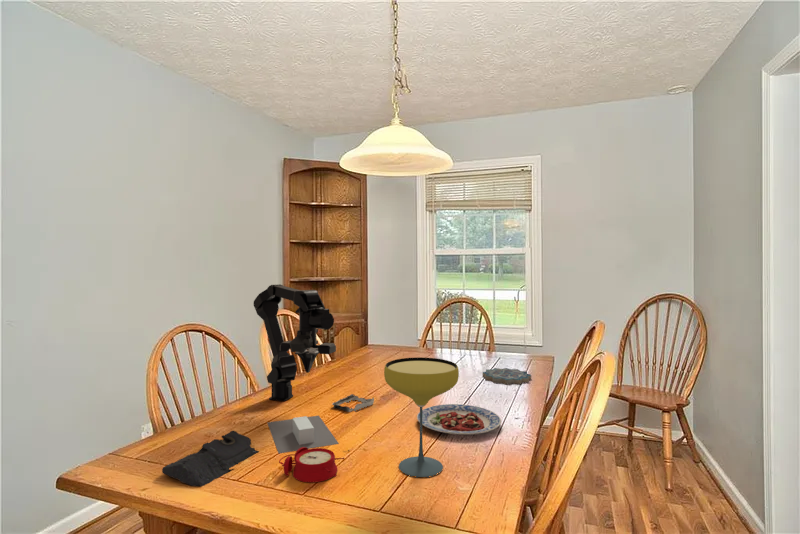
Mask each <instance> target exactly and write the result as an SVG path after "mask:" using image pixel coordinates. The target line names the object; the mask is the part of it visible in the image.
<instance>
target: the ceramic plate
mask: <svg viewBox="0 0 800 534" xmlns="http://www.w3.org/2000/svg"><path fill="white" fill-rule="evenodd" d="M416 418H417V419H416V420H417V421H418V423H419V424H420V411H419V412H418V413H417V415H416ZM501 424H502V419H501V417H500V415H498V414H497V413H496V412H494V411H491V410H489V409H487V408H485V407H480V406H476V405H470V404H462V403H459V404H458V403H448V404H447V403H445V404H438V405H432V406H429V407H426V408H424V409H423V408H422V427H423V426H424V427H425V428H427V429H430V430H432V431H435V432H440V433H444V434H451V435H479V434H485V433H488V432H492V431H493V430H497V428H499V427H500V425H501Z"/></svg>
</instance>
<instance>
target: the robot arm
mask: <svg viewBox="0 0 800 534" xmlns="http://www.w3.org/2000/svg"><path fill="white" fill-rule="evenodd" d="M282 299H284V300H287V301H291V302H293V304H294V305H295V306H297V307H298V308H297V309H296V310H295V313H296V314H298V315H299V319H298V321H299V324H298V326H299V327H298V328H299V330H297V331H296V336H295V337H294V338H293V339H292V340H285V341H284V338H283V333H282V330H281V326H280V323H279V320H278V316H277V315H278V313H279V309H280V307H279V304H280V303H281V302H282ZM253 307H254V310H255V312H256V314H257V315H258V316H259V318H261V319H262V321H263V323H264V324H263V325H264V327H265V332H266V334H267V338H268V341H269V345H270V349H271V352H272V357H273V358H272V360H271V364H270V365H271V370H270V372H269V373H268V374H267V376H266V380H267V383H269V384H271V396H270V397H269V398H268V399H269V401H270V400H271V401H281V402H286V401H287V400H290V398H293V397H294V394H293V385H292V381H295V379H296V376H297V371H298V364H297V361H296V359H295V356H294V355H296V356H298V358H300V361H301V363H302V365H303V368H304V370H305V373H311V369H312V367H313V365H314V362H315V359H316V358H317V356H318V355H319V354H320V355H331V354H332V353H334V352H337V347H336V346H337V345H336V344H335V343H334V342H324V343H321V344H319V341H318V340H317V333H319V329H320V330H325V331H327V330H330V329H331V328H332V327H333V326H334V323H335V318H334V316H333V314H332V313H331V312H330V309H329V308H326V307H325V304H324V303H323V301H322V297H321V296H320V294H319V292H318V290H315V289H305V290H304V289H297V288H293V287H289V286H285V285H283V284H271V285H268V286H267V288H266V289H265V290H263V291H262V292H260V293H258V295H256V297H255V299H254V300H253ZM289 350H290V352H291V353H294V354H290V353H288V352H289Z"/></svg>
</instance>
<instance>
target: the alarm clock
mask: <svg viewBox="0 0 800 534" xmlns="http://www.w3.org/2000/svg"><path fill="white" fill-rule="evenodd" d="M284 458H285V459H284ZM283 459H284V462H281V461H282V460H283ZM335 460H345V457H336V455H335V453H334V451H333V450H330V449H327V448H322V447H316V448H310V449H308V448H306V447H302V448H299V449H298V450H297V451H295V452H294V453H292V454H287V455H284V456H283V457H281V458H280V459H279V461H278V463H279V464H281V467H283V473H284V475H285V476H287V477H288V476H290V475H289V473H291V472H292V476H293V478H294V479H295V480H297V481H299V482H304V483H318V482H324V481H327V480H330V479H331V478H333V477H337V476H338V475H337V473H338V466H337V464H336V461H335ZM293 465H294V468H293Z"/></svg>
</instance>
